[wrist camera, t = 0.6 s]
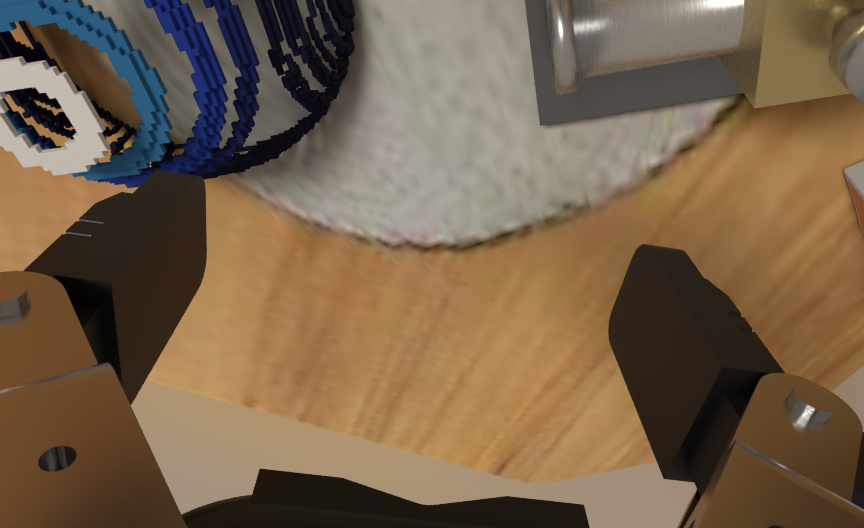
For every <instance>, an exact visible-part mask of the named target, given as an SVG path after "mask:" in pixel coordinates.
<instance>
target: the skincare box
mask: <svg viewBox="0 0 864 528" xmlns="http://www.w3.org/2000/svg"><path fill="white" fill-rule="evenodd" d="M843 172H844V175H845V177H846V180H847V183H848V186H849V189H850V192H851V196H852V199H853V202H854V205H855V209H856V213H857V217H858V220H859V224H860V228H861V231H862V233H863V234H864V161H861V162H859V163H856V164H854V165H851V166H849V167H847V168H845V169H844V170H843Z"/></svg>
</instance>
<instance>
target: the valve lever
mask: <svg viewBox="0 0 864 528" xmlns="http://www.w3.org/2000/svg"><path fill="white" fill-rule="evenodd" d="M828 63H829V67H830V70H831V72H832V73H833V75H834V76H835V77H836V78H837V79H838V80H839V81H840V82H841V83H842V84H843V85H844V86H845V87H846V88H847V89H848V90H849V91H850V92H851V93H852V94H853V95H854V96H855V97H856V98H857V99H858V100H859V101H860V102H861V103H863V104H864V11H863V12H862V13H860V14H858V15H857V16H855V17H854V18H853V19H851V20H850V21H849V22H848V23H847V24H846V25H845V26H844V27H843V28H842V29H841V30H840V31H839V33H838V34H837V36H836V37H835V39H834V41H833V43H832V45H831V47H830V51H829V57H828Z"/></svg>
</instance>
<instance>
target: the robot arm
mask: <svg viewBox="0 0 864 528" xmlns="http://www.w3.org/2000/svg"><path fill="white" fill-rule="evenodd" d="M206 257H207V244H206V191H205V183H204V180H203V178H202V177H201V176H195V175H189V174H182V173H175V172H169V171H162V170H156V171H155V172H153V173H152V174H151V175H150V176H149V177H148V178H147V180H146V181H145V182H144V183H143V184H142V185H141V186H140V187H139V188H138V189H137V190H136V191H135V192H134V193H133V194H131V193H125V192H121V193H119V194H116V195H114V196H111V197H109V198H107V199H104V200H102V201H100V202H97V203H95V204H94V205H93V206H92V207H91V208H90V209H89V210H88V211H87V212H86V213H85V214H83V215H82V216H81V217H80V218H79V222H77V221H76V222H75V223H74V224H73V225H72V226H71V227H70V228H69V229H67V230H66V234H62V235H61V236H60V237H59V238H58V239H57V240H56V241H55V242H54V243H53V244H51V245H50V246H49V247H48V248H47V249H46V250H45V251H44V252H43V253H42V254H41V255H40V256H39V257H38V258H36V259H35V260H34V261H33V262H32V263H31V264H30V265H29V266H28V267H27V268H26V269H25V270H24V271H10V272H0V528H589V524H588V520H587V516H586V512H585V508H584V505H580V504H572V503H563V502H554V501H545V500H536V499H527V498H518V497H509V496H506V497H498V498H488V499H480V500H472V501H463V502H456V503H447V504H439V505H422V504H418V503H415V502H412V501H409V500H406V499H403V498H400V497H397V496H394V495H391V494H388V493H385V492H382V491H379V490H376V489H373V488H371V487H367V486H365V485H362V484H359V483H356V482H352V481H350V480H347V479H344V478H338V477H329V476H321V475H312V474H303V473H294V472H284V471H276V470H267V469H260V470H259V474H258V477H257V480H256V484H255V487H254V490H253V494H252V495H247V496H240V497H234V498H230V499H225V500H221V501H217V502H214V503H211V504H207V505H205V506H201V507H198V508H196V509H193V510H191V511H189V512H187V513H184V514H182V515H181V513H180V511H179V509H178V507H177V505H176V502H175V500H174V498H173V496H172V494H171V492H170V490H169V487H168V485H167V483H166V481H165V479H164V477H163V475H162V473H161V470H160V468H159V466H158V464H157V462H156V459H155V457H154V455H153V453H152V451H151V449H150V446H149V444H148V442H147V440H146V438H145V436H144V434H143V431H142V429H141V427H140V425H139V423H138V421H137V418H136V416H135V414H134V412H133V410H132V408H131V404H132V403H133V401H134V399H135V397H136V396H137V394H138V392H139V391H140V389H141V387H142V385H143V384H144V382H145V380H146V378H147V377H148V375H149V373H150V372H151V370H152V368H153V366H154V365H155V363H156V361H157V359H158V358H159V356H160V354H161V353H162V351H163V349H164V347H165V346H166V344H167V342H168V341H169V339H170V337H171V335H172V334H173V332H174V330H175V328H176V327H177V325H178V323H179V322H180V320H181V318H182V316H183V315H184V313H185V311H186V310H187V308H188V306H189V304H190V303H191V301H192V299H193V297H194V296H195V294H196V292H197V291H198V289H199V287H200V285H201V282H202V279H203V276H204V272H205V266H206ZM608 331H609V341H610V345H611V347H612V350H613V352H614V355H615V357H616V360H617V362H618V365H619V367H620V370H621V373H622V375H623V378H624V380H625V383H626V385H627V388H628V390H629V393H630V395H631V398H632V400H633V403H634V405H635V408H636V410H637V413H638V415H639V418H640V420H641V423H642V425H643V428H644V430H645V433H646V435H647V438H648V440H649V443H650V445H651V448H652V450H653V453H654V455H655V458H656V460H657V463H658V465H659V468H660V470H661V473H662V475H663V478H664V479H670V480H679V481H687V482H694V483H695V485H696V487H697V490H696V492H695V494H694V495H693V497H692V499H691V501H690V503H689V504H688V506H687V508H686V510H685V512H684V515H683V517H682V519H681V521H680V523H679V525H678V527H677V528H864V432H863V431H862V430H863V429H862V428H863V427H862V425H861V421H860V420H859V418H858V416H857V415H856V413H855V412H854V411H853V410H852V409H851V408H850V407H849V405H847V404H846V403H845V402H844V401H843V400H842V399H840V398H839V397H838V396H837V395H835V394H834V393H832V392H831V391H829V390H828V389H826V388H824V387H822V386H820V385H819V384H817V383H814V382H812V381H810V380H808V379H805V378H802V377H799V376H795V375H791V374H785V372H784V371H783V370H782V368H781V367H780V366H779V364H778V363H777V362H776V360H775V359H774V357H773V356H772V355H771V353H770V352H769V351H768V349H767V348H766V347H765V345H764V344H763V343H762V341H761V340H760V338H759V337H758V336H757V334H756V333H754V332H752V328H751V326H750V325H749V324H748V322H747V321H746V319H745V318H743V317H741V313H740V311H739V310H738V309H737V307H736V306H735V305H734V303H733V302H732V300H731V299H730V298H729V296H727V295H726V294H725V293H724V292H722V291H721V290H720V289H718V288H717V287H716V286H715V285H713V284H712V283H711V282H709V281H708V280H707V279H704V278H703V276H702V275H701V273H700V272H699V271H698V269H697V268H696V266H695V265H694V264H693V262H692V261H691V259H690V258H689V256H688V255H687V254H686V252H685V251H683V250H679V249H673V248H666V247H659V246H653V245H646V244H643V245H641V246H639V247H638V248H637V250H636V251H635V253H634V255H633V257H632V260H631V262H630V265H629V268H628V270H627V273H626V275H625V278H624V281H623V283H622V286H621V288H620V291H619V294H618V296H617V299H616V301H615V304H614V306H613V309H612V312H611V315H610V320H609V330H608Z"/></svg>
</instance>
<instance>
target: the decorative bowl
mask: <svg viewBox="0 0 864 528" xmlns="http://www.w3.org/2000/svg"><path fill="white" fill-rule="evenodd" d="M273 1H274V4H275V7H276V10H277V13H278V16H279V19H280V22H281V25H282V28H283V31H284V34H285V37H286V40H287V43H288V46H289V48H291V49H292V52H293V55H294V56H299V55H300V54H301V57H302V60H303V64H305V63H307V64H308V68H309V69H311V71H312V75H313V77H315V78H316V79H318V82H320V84H322V85H323V87H328V88H325V89H326V92H321V93H320V92H318V90H310V87H309V84H308V81H307V80H305V77H302V74H301V71H300V68H299V64H298V65H297V64H296V62H294V61H293V58H292V55H291V53H290V54H286V55H285V56H284V54H283V51H282V48H281V45H280V42H283V40H284V37H283V34H282V31H281V29H280V26H279V23H278V20H277V17H276V14H275V11H274V8H273V5H272V2H271V0H255V2H256V5H257V8H258V11H259V14H260V16H261V19H262V22H263V25H264V28H265V31H266V34H267V36H268V39H269V42H270V45H271V48H272V49H269V50H268V51H267V52H268V55H269V58H270V61H271V64H272V66H273V68H276V71H277V74H278V76H280V75H284V70H283V67H282V64H285V63H287V66H288V69H289V70H286V71H285V75H286V76H282V78H281V79H282V82H283V85H284V88H287V90H288V91H290V93H291V96H292V98H294V99H295V101H297V102H298V103H300V105H303V107H305V108H306V110H307V109H308V112H311V113H312V114H310V115H308V117H303V119H302V120H298V124H297V125H295V127H292V128H290V129H289V130H286V131H284V133H280V134H279V135H273V136H270V137H271V139H268V140H264V141H257V142H256V143H257V145H254V146H247V147H243V145H244V143H245V141H246V139H245V138H248V136H249V134H248V133H250V132H251V131H252V128H251V127H254V125H255V122H254V120H253V117H254V116H255V115H256V111H258V110H259V105H258V103H257V100H256V97H255V95H257V94H258V93H259V91H258V88H257V86H256V83H259V82H260V79H259V76H258V73H257V71H256V68H255V66H258V65H259V64H260V63H259V61H258V58H257V55H256V52H255V50H254V47H253V44H252V42H251V39H250V36H249V33H248V31H247V28H246V25H245V23H244V20H243V17H242V14H241V12H240V9H239V6H238V4H237V5H232V4H231V1H230V0H203V2H204V4H205V7H206V8H211V7H213V6H215V9H216V11H217V14H218V17H219V18H218V19H217V21H218V24H219V26H220V29H221V32H222V34H223V37H224V39H225V42H226V44H227V47H228V49H229V52H230V54H231V57H232V59H233V62H234V64H235V67H236V68H237V67H239V70H240V72H241V75H242V76H241V77H236V79H235V81H236V84H237V86H238V88H237V89H235V90H234V93H235V96H236V98H237V100H234V102H233V104H234V107H235V109H236V112H237V114H238V116H239V120H238V121H235V122H232V124H231V126H232V128H233V131H232V134H233V137H231V138H228V140H227V142H226V145H227V146H224V148H223V149H220V148H219V142H220V141H221V140H222V139H223V138H222V136H221V134H220V132H219V131H222V129H223V126H222V125H225V124H226V120H225V117H224V115H223V114H226V112H227V109H226V106H225V104H224V102H227V101H228V97H227V95H226V92H225V90H224V88H223V85H225V84H226V83H227V81H226V78H225V76H224V73H223V71H222V69H221V66H220V64H219V61H218V59H217V56H216V54H215V52H214V49H213V47H212V44H211V42H210V39H209V37H208V35H207V32H206V30H205V27H204V25H203V22H197V23H196V21H195V18H194V16H193V14H192V11H191V9H190V6H189V4H188V3H185V4H182V3H181V0H144V2H145V5H146V7H147V8H152V7H153V8H154V10H155V12H156V14H157V17H158V19H159V21H160V23H161V25H162V28H163V30H164V32H165V34H167V33H172V35H173V38H174V40H175V42H176V44H177V47H178V49H179V51H180V52H181V51H186V53H187V55H188V57H189V59H190V62H191V64H192V66H193V68H194V71H195V73H193V74H192V75H191V78H192V80H193V82H194V84H195V87H196V89H197V91H195V92H194V93H193V96H194V98H195V100H196V102H197V104H198V107H199V109H200V111H201V113H202V114H199V115H198V119H199V120H196V121H195V125H196V126H193V128H192V131H193V133H194V135H195V137H190V138H187V140H186V142H187V143H184V144H176V145H174V143H173V141H172V138H171V136H170V134H169V132H168V131H170V130H171V129H172V126H171V124H170V122H169V120H168V118H167V116H166V114H165V113H168V112H169V111H170V109H169V107H168V105H167V103H166V101H165V99H164V97H163V95H165V94H166V92H167V90H166V88H165V86H164V84H163V82H162V80H161V78H160V76H159V74H158V72H157V69H156V67H152V68H149V66H148V64H147V62H146V60H145V58H144V56H143V54H142V52H141V50H140V49H135V50H134V49H133V47H132V45H131V43H130V41H129V39H128V37H127V35H126V33H125V31H124V30H117V28H116V26H115V25H114V23H113V21H112V19H111V17H107V18H104V16H103V14H102V12H101V11H97V12H94V10H93V8H92V6H91V5H87V6H84V4H83V2H82V0H71V1H68V0H0V146H3V148H4V149H5V150H6V152H8V151H13V153H14V154H15V156H16V157H17V159H18V160H19V162H20V163H21V164H22V166H23V167H24V168H25V167H33V166H40V165H41V166H42V168H43V169H44V171H48V170H50V171H51V172H52V174H53V175H54V176H55V175H62V174H72V175H73V176H74V177H79V176H85V178H86V179H87V181H89V180H93V181H95V180H97V181H98V182H104V181H105V182H110V183H114V184H115V185H119V184H125V185H126V186H127V188H133V187H140V186H141V185H142V184H143V183H144V182H145V181H146V180H147V178H148V177H149V176H150V175H151V174H152V173H153V172H155V171H156V170H162V171H169V172H175V173H182V174H189V175H195V176H201V177H202V178H203V179H208V178H216V177H218V176H219V175H227V174H230V173H238V172H244V171H245V170H246V169H250V167H251V166H258V165H262V164H264V162H269V160H270V159H275V158H278V157H279V155H280V154H281V152H283V151H286V150H287V149H289V148H291V146H292V145H293V144H295V143H297V141H300V140H301V138H302V137H303V135H304V134H307V133H308V132H309V131H310V129H313V128H314V126H315V124H316V122H319V121H320V119H321V117H322V116H323V115H326V114H327V112H328V109H329V107H330V102H331V101H332V100H333V99H336V98H337V95H338V93H339V87H340V86H341V84H342V81H343V79H344V78H345V77H346V74H347V68H346V67H348V65H349V59H348V56H351V53H352V52H353V51H354V49H355V47H354V43H353V39H352V36H351V32H353V31H354V25H353V21H352V18H354V16H355V11H354V7H353V3H352V0H326V1H327V5H328V8H329V10H331V14H332V17H333V19H335V22H337V25H338V28H339V30H342V32H343V31H345V33H346V35H344V36H342V39H341V36H339V34H338V33H337V32H336V29H335V30H334V26H333V23H332V21H330V17H329V14H328V13H327V12H326V9H325V5H324V1H323V0H315V4H316V7H317V8H319V12H320V15H321V19H322V22H323V26H324V29H325V33H327V34H325V35H324V36H323V38H324V41H325V42H326V41H330V39H331V43H332V44H334V47H336V50H335V53H336V56H338V59H336V58H334V56H333V55H331V53H329V50H327V48H326V47H324V43H323V40H322V39H320V35H319V32H318V30H317V31H316V28H315V24H314V21H313V18H315V17H317V13H316V9H315V6H314V3H313V0H306V3H307V7H308V10H309V13H310V17H307V18H306V21H307V25H308V28H309V31H310V35H311V38H312V40H314V42H315V45H316V49H317V48H318V50H319V51H321V54H322V57H323V59H325V62H329V65H330V67H332V70H336V69H337V70H338V72H337V73H336V71H331V73H330V70H328V69H327V67H325V64H323V63H322V59H321V57H319V55H318V54H316V51H315V48H314V46H312V44H311V40H310V37H309V34H308V32H306V30H305V27H304V24H303V20H302V17H301V14H300V11H299V7H298V4H297V1H296V0H273ZM23 20H28V22H29V23H30V25H31V27H33V26H39V25H45V24H50V23H57V25H58V26H59V28H60V29H67V30H68V32H69V34H70V35H75V34H77V36H78V38H79V40H80V41H84V40H87V42H88V44H89V46H90V47H92V46H97V48H98V50H99V52H106V53H107V54H108V56H109V58H110V60H111V62H112V64H113V66H114V68H115V70H116V72H117V73H118V75H119V77H125V76H126V78H127V80H128V82H129V84H130V86H131V88H132V90H133V92H134V93H132V94H131V95H130V98H131V100H132V102H133V104H134V106H135V108H136V110H137V111H138V113H139V115H140V117H141V119H142V121H143V123H141V124H140V125H139V127H140V129H139V130H138V131H136V130H135V129H134V127H132V128H130V127H129V125H128V124H126V125H124V123H123V121H118V119H117V118H112V116H111V114H110V112H109V111H105V110H104V109H103V108H99V107H98V105H97V103H96V102H95V101H91V100H90V98H89V97H88V95H87V93H85V91H81V90H80V88H79V86H75V85H74V84H73V82H72V80H71V78H70V77H69V75H68V73H67V72H63V73H62V71H61V70H60V68H59V66H58V65H57V63H56V61H55V59H50V58H49V56H48V55H47V53H46V51H45V50H44V48H43V46H42V45H41V43H40V42H37V43H36V42H35V40H34V38H33V37H32V35H31V33H30V32H29V30H28V28H27V27H26V25H25V23H24V21H23ZM14 22H18V23H19V24H20V26H21V28H22V29H23V31H24V33H25V34H26V36H27V38H28V39H29V41H30V43H31V44H32V46H33V48H34V49H31V47H26V45H25V44H23V45H22V44H21V43H20V42H16V41H15V39H14V37H13V36H12V34H11V33H10V30H14V29H16V28H17V26H16V25H15V23H14ZM300 37H301V41H302V44H303V46H300V47H299V48H298V45H297V42H296V39H299V38H300ZM340 58H343V59H341V60H339V59H340ZM299 86H301V88H298V87H299ZM31 87H36V88H34V89H32V88H31ZM296 88H298V89H297V90H296ZM36 89H37V90H38V91H37V90H36ZM45 92H46V93H45ZM6 94H9V95H10V96H11V98H12V99H13V101H14V102H15V104H16V105H17V106H21V108H23V109H24V110H25V112H24V113H23V114H22V115H23V116H24V118H30V117H31V116H32V117H33V118H34V120H35V121H36V123H37V124H42V125H43V126H44V127H45V128H48V129H49V130H50V131H51V132H56V134H61V136H66V137H67V138H71V139H72V140H68V141H67V142H66V143H65V145H66V147H61V146H56V145H55V143H54V142H53V140H52V139H51V138H46V137H45V136H39V134H38V133H37V131H36V130H35V128H34V127H33V126H32V125H27V124H26V122H25V121H24V119H23V118H22V116H21V115H20V113H19V112H18V111H16V112H13V110H12V109H11V107H10V106H9V104H8V103H7V101H6V100H5V99H4V97H6ZM29 98H30V99H29ZM33 100H36V101H40V102H41V103H45V104H46V105H50V106H51V107H55V108H56V109H60V108H61V107H62V109H63V110H64V112H65V114H66V115H67V117H66V115H65V114H64V112H59V113H58V114H57V115H56V116H55V115H54V114H53V112H52V110H47V109H46V108H42V107H41V106H37V104H36V103H35V101H33ZM99 116H100V117H99ZM43 117H44V118H43ZM100 118H105V120H106V121H107V122H108V121H111V123H112V125H115V126H114V127H113V128H112V129H111V130H110V129H109V127H105V126H104V124H103V122H102V121H101V119H100ZM55 123H56V124H55ZM63 126H65V127H66V128H70V127H71V126H72V127H73V128H75V129H72V130H71V131H70V130H69V129H67V130H66V129H65V128H64V127H63ZM123 126H124V127H125V129H126V130H127V132H126V133H125V134H124V135H123V137H118V138H117V141H118V142H117V141H114V142H112V143H111V144H110V145H109V144H108V142H107V140H106V137H105V136H107V137H109V136H111V135H112V134H117V132H118V131H119V130H120V129H121V128H122V127H123ZM133 134H134V136H135V138H134V140H135V142H133V143H132V144H131V146H132V147H129V148H126V149H125V150H124V151H123V152H120V151H121V150H123V149H124V146H123V145H124V144H125V143H126V142H127V141H128V139H129V138H130V137H131V136H132V135H133ZM73 139H74V140H73ZM109 148H110V149H111V150H112V151H111V153H112V155H111V158H110V161H111V162H104V163H99V159H98V158H101V157H105V156H106V155H107V154H108V153H107V150H108V149H109ZM180 148H184V150H185V151H184V152H183V154H181V155H174V157H173V155H172V153H173V152H174V151H175V149H180ZM250 150H251V151H250ZM242 151H248V153H246V154H240V153H235V152H242ZM119 152H120V153H119ZM123 153H124V154H123ZM168 153H169V154H168ZM234 153H235V154H234ZM233 154H234V155H233ZM232 155H233V156H232ZM149 162H151V166H152V167H149V166H150V163H149Z"/></svg>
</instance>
